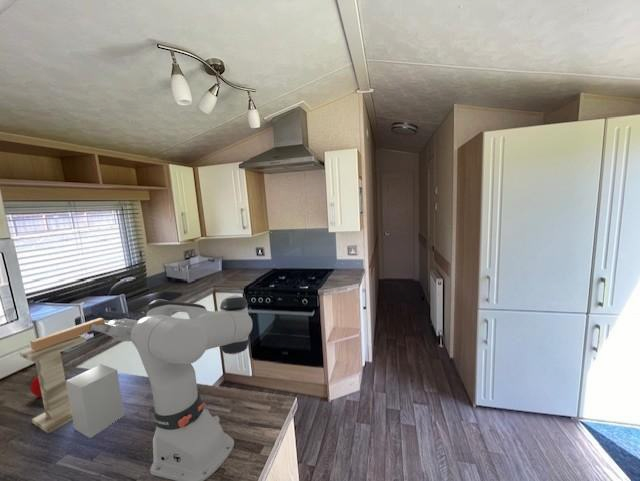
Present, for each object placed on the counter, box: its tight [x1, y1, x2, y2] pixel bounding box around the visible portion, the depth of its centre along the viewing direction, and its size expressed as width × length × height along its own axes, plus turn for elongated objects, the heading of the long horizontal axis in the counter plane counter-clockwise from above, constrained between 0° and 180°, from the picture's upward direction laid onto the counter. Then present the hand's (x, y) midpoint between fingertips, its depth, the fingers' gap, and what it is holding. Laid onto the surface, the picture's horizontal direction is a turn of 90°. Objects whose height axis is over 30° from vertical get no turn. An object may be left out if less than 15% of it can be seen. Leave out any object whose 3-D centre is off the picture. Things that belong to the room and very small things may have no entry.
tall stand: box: [19, 335, 87, 434], centre depth 96 cm, size 12×14×26 cm
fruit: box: [29, 375, 42, 398], centre depth 110 cm, size 9×9×10 cm
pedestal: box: [65, 364, 125, 439], centre depth 91 cm, size 10×10×17 cm
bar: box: [29, 317, 105, 351], centre depth 99 cm, size 3×20×3 cm, turn 153°
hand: (87, 325), depth 104 cm, fingers closed on bar, 3 cm apart
